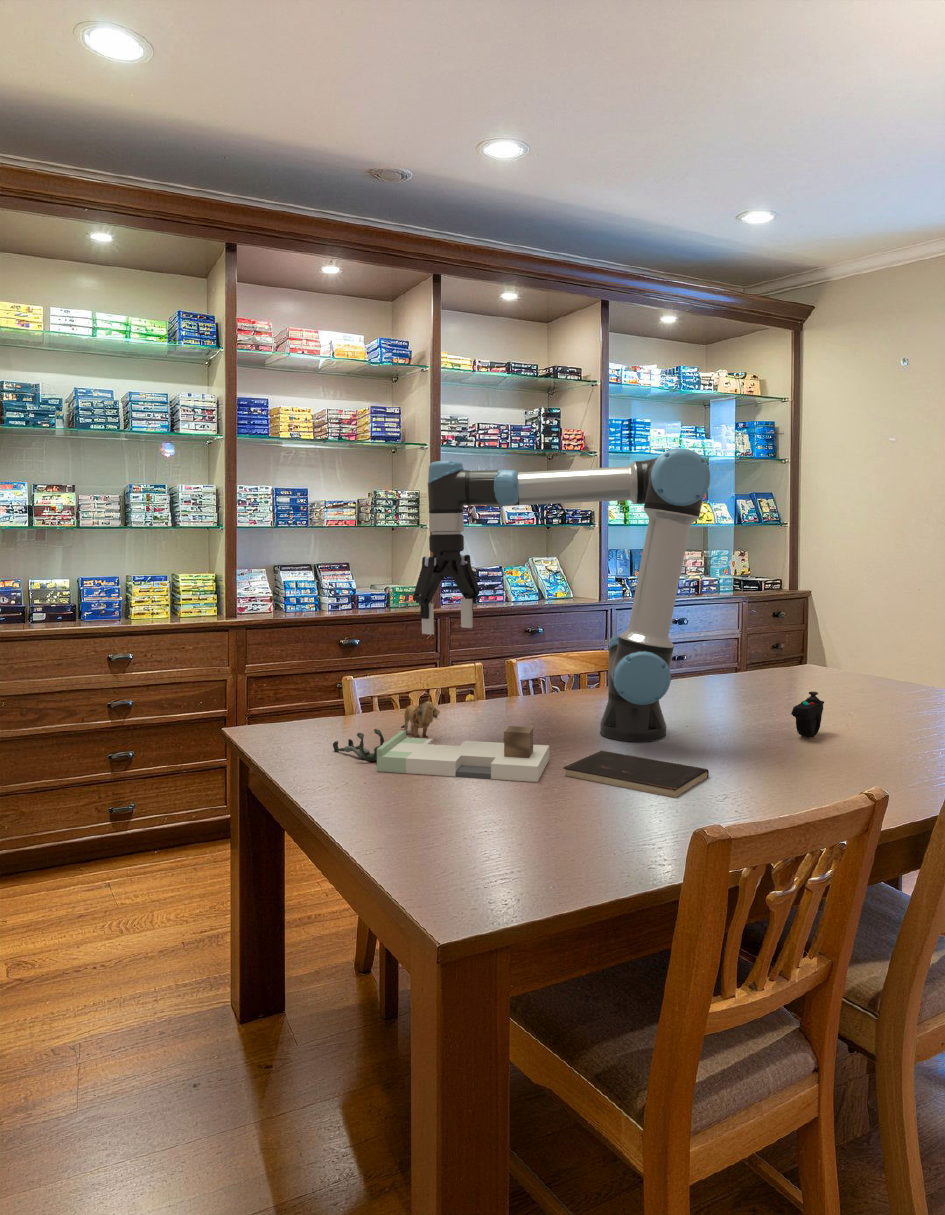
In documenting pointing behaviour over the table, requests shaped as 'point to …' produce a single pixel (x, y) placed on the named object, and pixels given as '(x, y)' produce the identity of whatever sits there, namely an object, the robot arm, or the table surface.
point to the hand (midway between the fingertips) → (447, 630)
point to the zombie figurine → (361, 747)
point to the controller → (808, 715)
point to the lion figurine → (420, 717)
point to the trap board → (459, 759)
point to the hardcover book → (637, 773)
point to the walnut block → (518, 742)
